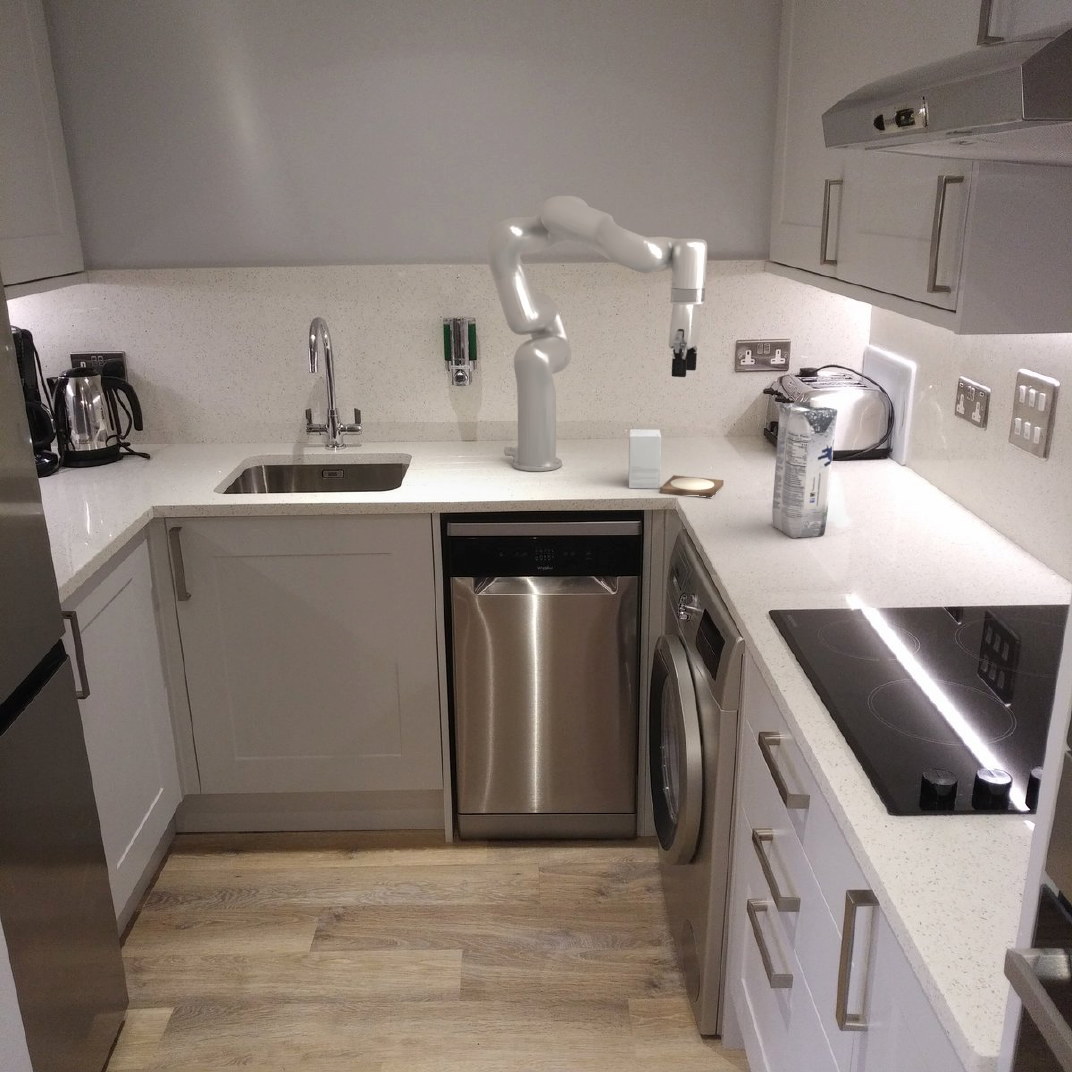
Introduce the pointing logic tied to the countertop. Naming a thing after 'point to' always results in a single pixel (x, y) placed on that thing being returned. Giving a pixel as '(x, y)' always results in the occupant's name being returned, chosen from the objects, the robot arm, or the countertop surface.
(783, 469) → the juice carton
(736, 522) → the countertop surface
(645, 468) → the supplement box
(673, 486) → the board
